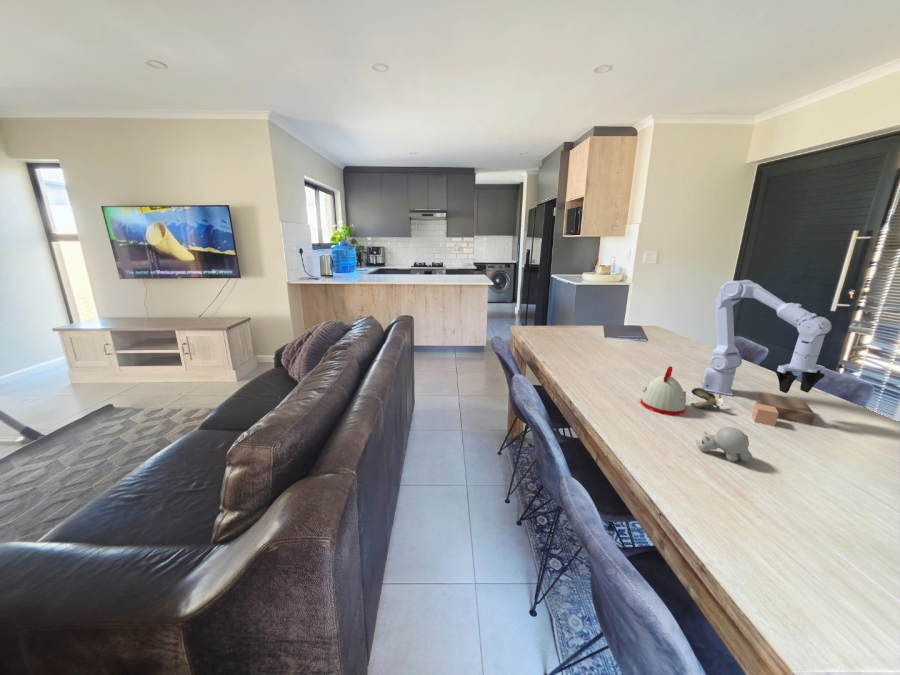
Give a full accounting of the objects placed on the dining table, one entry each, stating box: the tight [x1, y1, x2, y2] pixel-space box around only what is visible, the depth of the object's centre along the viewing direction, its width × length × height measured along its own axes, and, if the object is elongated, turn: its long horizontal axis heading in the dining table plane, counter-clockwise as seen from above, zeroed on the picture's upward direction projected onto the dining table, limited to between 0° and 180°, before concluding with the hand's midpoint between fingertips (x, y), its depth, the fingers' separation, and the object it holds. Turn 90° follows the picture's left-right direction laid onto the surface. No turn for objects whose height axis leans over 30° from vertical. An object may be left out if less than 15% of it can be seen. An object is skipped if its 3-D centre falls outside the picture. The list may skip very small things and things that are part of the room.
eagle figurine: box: [689, 387, 725, 410], centre depth 122 cm, size 8×7×9 cm
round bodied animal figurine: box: [695, 426, 754, 462], centre depth 95 cm, size 7×12×8 cm, turn 59°
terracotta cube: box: [751, 402, 778, 427], centre depth 113 cm, size 5×5×5 cm
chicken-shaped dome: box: [639, 365, 687, 416], centre depth 122 cm, size 14×14×15 cm
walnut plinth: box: [756, 392, 816, 426], centre depth 118 cm, size 12×12×4 cm
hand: (793, 391), depth 115 cm, fingers open, 7 cm apart
